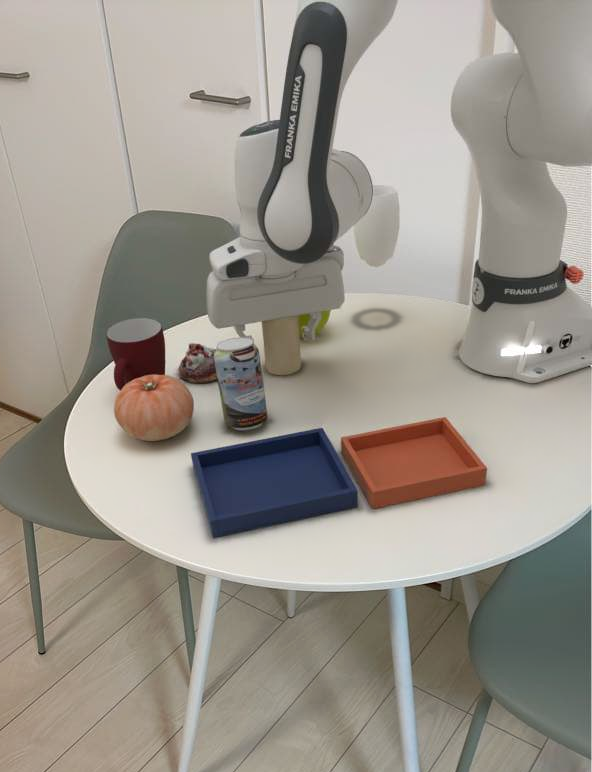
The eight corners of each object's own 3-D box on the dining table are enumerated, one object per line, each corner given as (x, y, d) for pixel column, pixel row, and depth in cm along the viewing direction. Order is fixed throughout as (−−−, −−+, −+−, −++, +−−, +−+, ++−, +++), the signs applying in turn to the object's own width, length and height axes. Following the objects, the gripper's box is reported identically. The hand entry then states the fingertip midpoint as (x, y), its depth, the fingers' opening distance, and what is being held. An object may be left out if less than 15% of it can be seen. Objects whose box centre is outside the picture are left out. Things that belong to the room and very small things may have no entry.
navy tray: (323, 443, 100) (322, 427, 99) (357, 507, 89) (357, 490, 88) (193, 469, 98) (190, 453, 96) (212, 538, 87) (209, 521, 85)
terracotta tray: (444, 432, 100) (445, 416, 99) (485, 485, 91) (487, 468, 89) (341, 453, 98) (340, 437, 97) (372, 509, 89) (372, 492, 87)
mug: (156, 415, 109) (142, 352, 102) (105, 412, 110) (88, 349, 104) (181, 380, 116) (170, 319, 110) (132, 377, 118) (119, 316, 112)
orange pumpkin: (109, 426, 107) (97, 376, 102) (179, 404, 111) (170, 354, 106) (136, 462, 100) (124, 410, 95) (210, 436, 103) (202, 385, 98)
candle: (260, 373, 116) (254, 311, 110) (274, 357, 120) (269, 296, 114) (293, 377, 115) (289, 315, 108) (306, 361, 118) (302, 299, 112)
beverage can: (236, 441, 102) (225, 361, 94) (214, 417, 107) (203, 339, 99) (277, 428, 104) (270, 347, 96) (254, 405, 109) (246, 327, 101)
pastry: (171, 380, 116) (165, 350, 113) (192, 358, 122) (187, 329, 118) (217, 386, 114) (213, 356, 111) (237, 363, 119) (234, 334, 116)
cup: (366, 331, 125) (367, 200, 111) (347, 316, 130) (345, 188, 117) (405, 322, 127) (409, 191, 113) (383, 306, 132) (386, 180, 118)
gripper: (336, 234, 109) (337, 324, 118) (198, 255, 106) (209, 346, 115) (350, 248, 104) (350, 341, 113) (206, 270, 101) (218, 364, 110)
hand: (278, 344), depth 114 cm, fingers open, 8 cm apart
